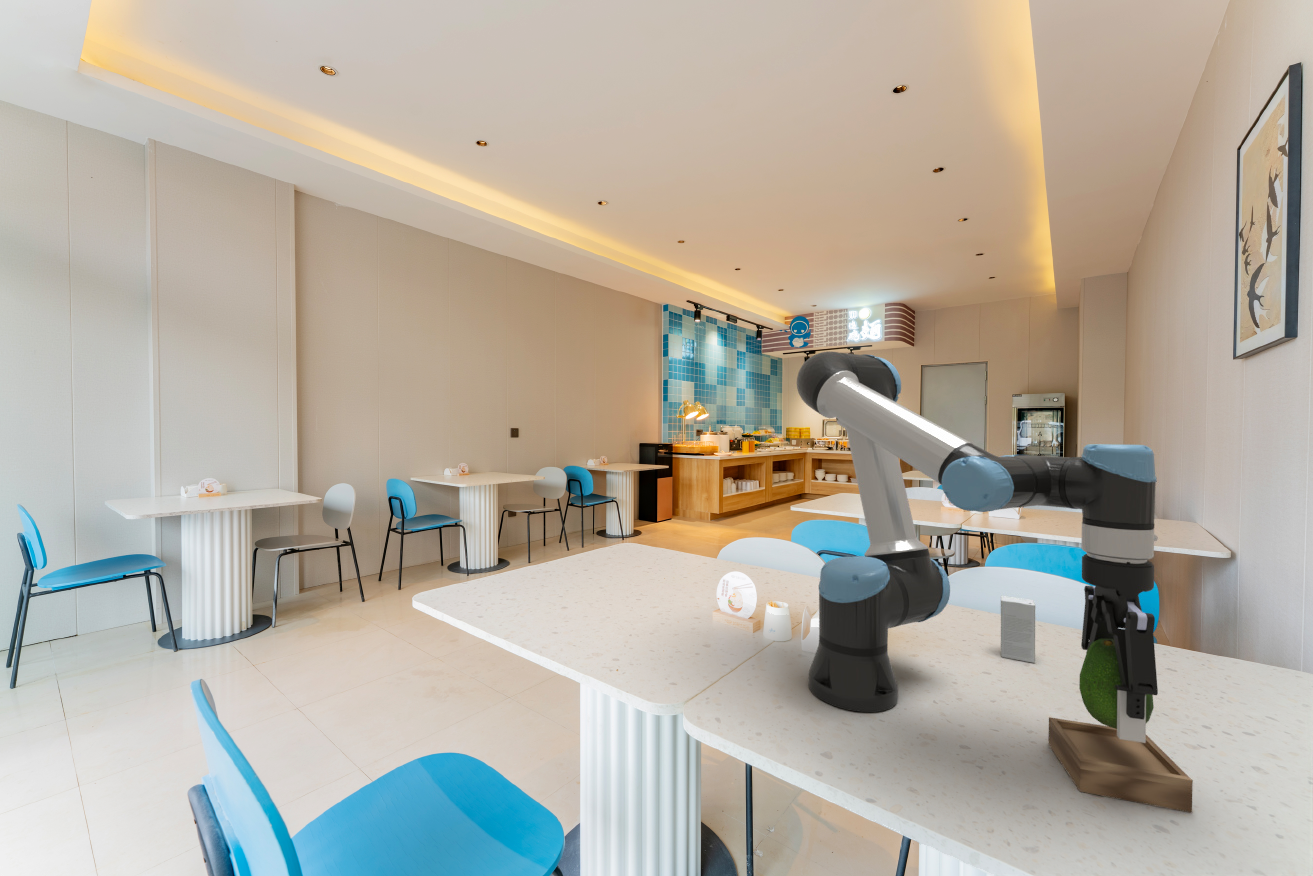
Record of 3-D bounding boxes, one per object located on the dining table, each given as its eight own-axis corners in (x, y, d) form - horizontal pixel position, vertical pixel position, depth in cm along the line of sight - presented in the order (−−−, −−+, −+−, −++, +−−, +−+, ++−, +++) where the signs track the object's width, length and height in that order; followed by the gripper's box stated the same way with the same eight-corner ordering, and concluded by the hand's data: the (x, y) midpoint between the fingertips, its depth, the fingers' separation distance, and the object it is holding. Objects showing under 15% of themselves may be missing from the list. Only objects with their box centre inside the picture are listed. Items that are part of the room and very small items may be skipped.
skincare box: (1034, 656, 113) (1035, 599, 113) (1035, 664, 109) (1036, 605, 109) (999, 650, 116) (1000, 595, 116) (999, 657, 113) (1000, 600, 112)
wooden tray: (1080, 791, 70) (1080, 761, 70) (1048, 743, 81) (1048, 717, 81) (1191, 812, 67) (1192, 780, 66) (1142, 759, 77) (1143, 731, 77)
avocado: (1070, 708, 79) (1071, 627, 79) (1138, 719, 76) (1139, 634, 76) (1090, 736, 71) (1091, 646, 71) (1166, 750, 68) (1167, 656, 68)
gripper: (1199, 578, 62) (1197, 773, 63) (1114, 544, 82) (1112, 692, 82) (1120, 572, 65) (1118, 760, 65) (1055, 540, 85) (1054, 685, 85)
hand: (1115, 722), depth 74 cm, fingers closed on avocado, 8 cm apart
